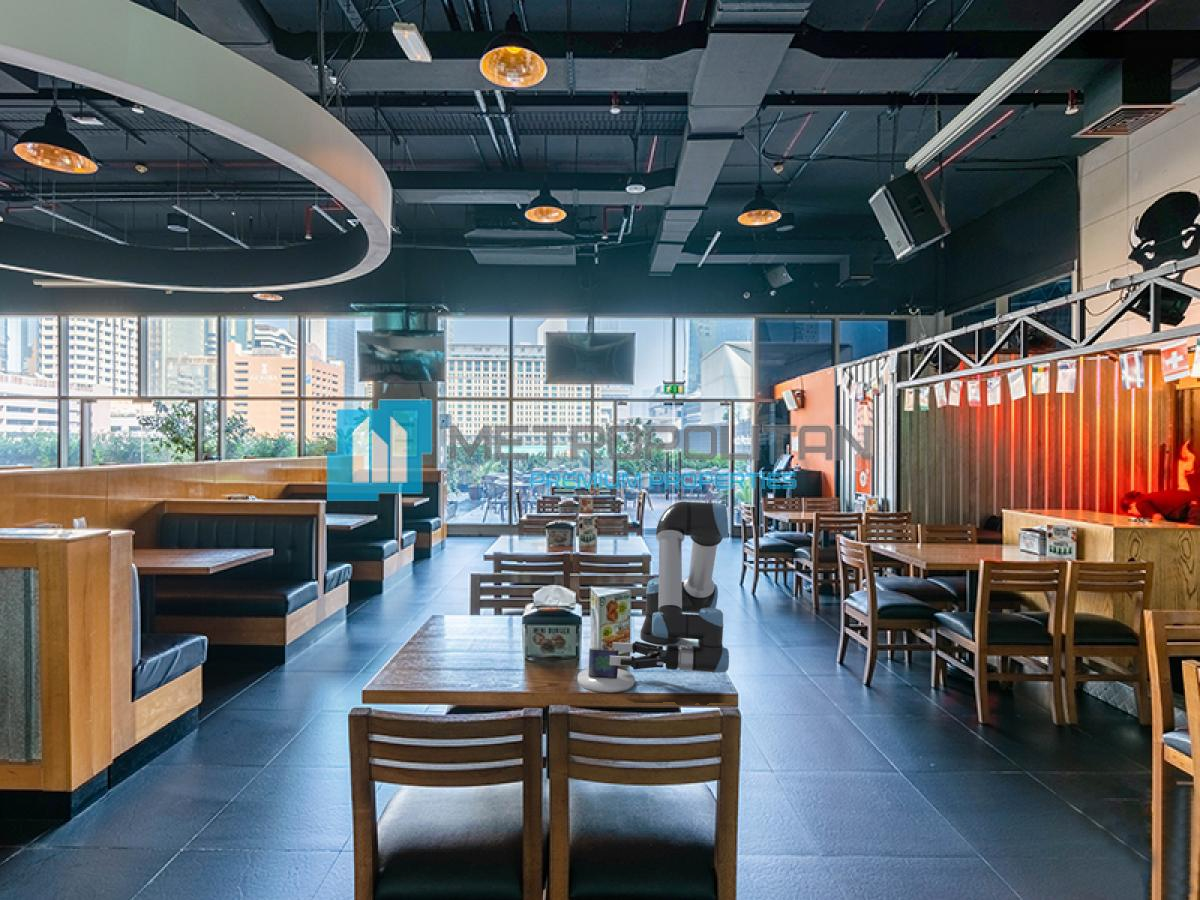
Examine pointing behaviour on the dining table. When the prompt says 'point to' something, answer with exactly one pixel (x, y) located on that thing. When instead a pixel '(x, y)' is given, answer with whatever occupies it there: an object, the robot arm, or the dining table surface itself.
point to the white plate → (606, 682)
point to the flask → (602, 662)
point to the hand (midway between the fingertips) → (610, 653)
